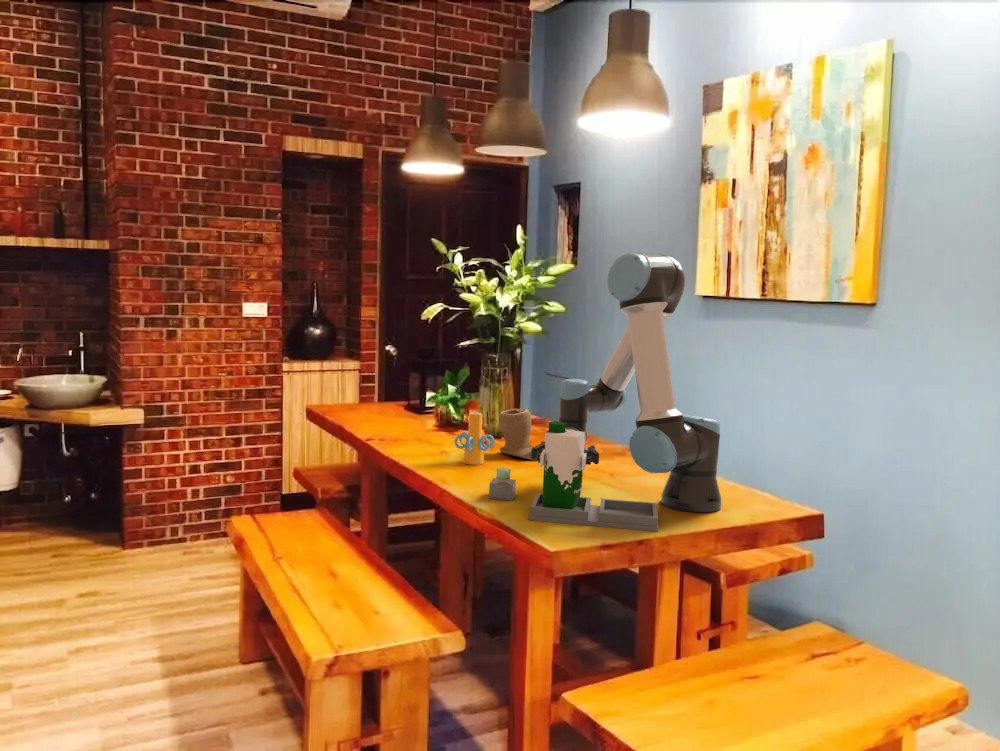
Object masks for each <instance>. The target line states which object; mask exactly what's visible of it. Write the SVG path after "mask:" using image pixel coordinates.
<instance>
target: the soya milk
mask: <svg viewBox="0 0 1000 751" xmlns="http://www.w3.org/2000/svg"><path fill="white" fill-rule="evenodd" d="M565 427H566V423H564V422H559V421H549V422H548V430H547V431H546V432H545V433H544V442H545V461H544V465H543V476H542V477H543V480H542V493H543V507H549V508H560V509H572V510H573V509H574V508H575V507H576V506H577V505H578V504H579V499H580V497H581V493H582V487H583V471H584V470H582V457H583V454H584V447H585V444H584V436H585V432H580V431H575V430H566V429H565Z"/></svg>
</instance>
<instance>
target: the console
mask: <svg viewBox="0 0 1000 751" xmlns="http://www.w3.org/2000/svg"><path fill="white" fill-rule="evenodd" d="M516 488H517V479H511V478H510V480H498V479H496V477H492V479H491V481H490V482H489V490H488V499H489V500H496V501H497V500H498V501H499V500H500V501H510V502H511V501H512V502H513V500H514V499H515V497H516Z"/></svg>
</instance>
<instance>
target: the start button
mask: <svg viewBox="0 0 1000 751" xmlns="http://www.w3.org/2000/svg"><path fill="white" fill-rule="evenodd" d="M511 470H512V469H511V468H508V467H498V468H496V472H495V474H496V475H495V478H496V479H498V480H510V479H511V472H512V471H511Z"/></svg>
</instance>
